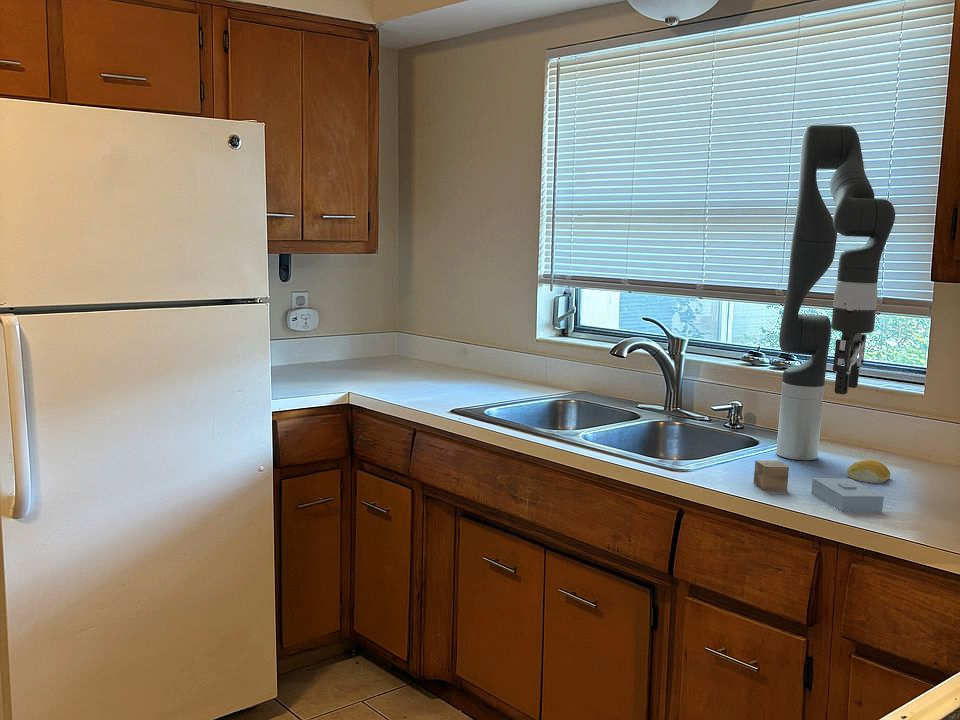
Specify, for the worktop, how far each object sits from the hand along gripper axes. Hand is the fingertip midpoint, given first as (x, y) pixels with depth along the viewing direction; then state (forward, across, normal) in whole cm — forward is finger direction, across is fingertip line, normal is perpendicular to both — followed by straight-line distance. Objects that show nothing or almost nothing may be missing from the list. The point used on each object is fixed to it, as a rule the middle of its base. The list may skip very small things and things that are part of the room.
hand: (846, 390), depth 170 cm
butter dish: (+22, 0, +2) cm, 22 cm away
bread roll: (+23, -23, +2) cm, 32 cm away
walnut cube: (+22, -1, -13) cm, 25 cm away
